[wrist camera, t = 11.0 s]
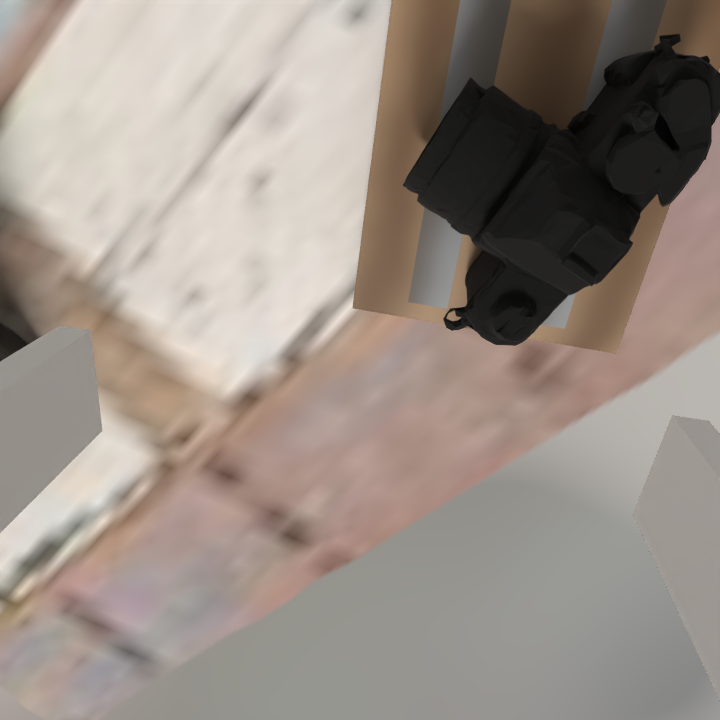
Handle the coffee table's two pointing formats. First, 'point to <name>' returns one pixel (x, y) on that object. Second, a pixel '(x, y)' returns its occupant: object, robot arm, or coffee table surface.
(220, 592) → the coffee table surface
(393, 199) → the wooden pallet
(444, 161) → the film camera
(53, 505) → the coffee table surface
